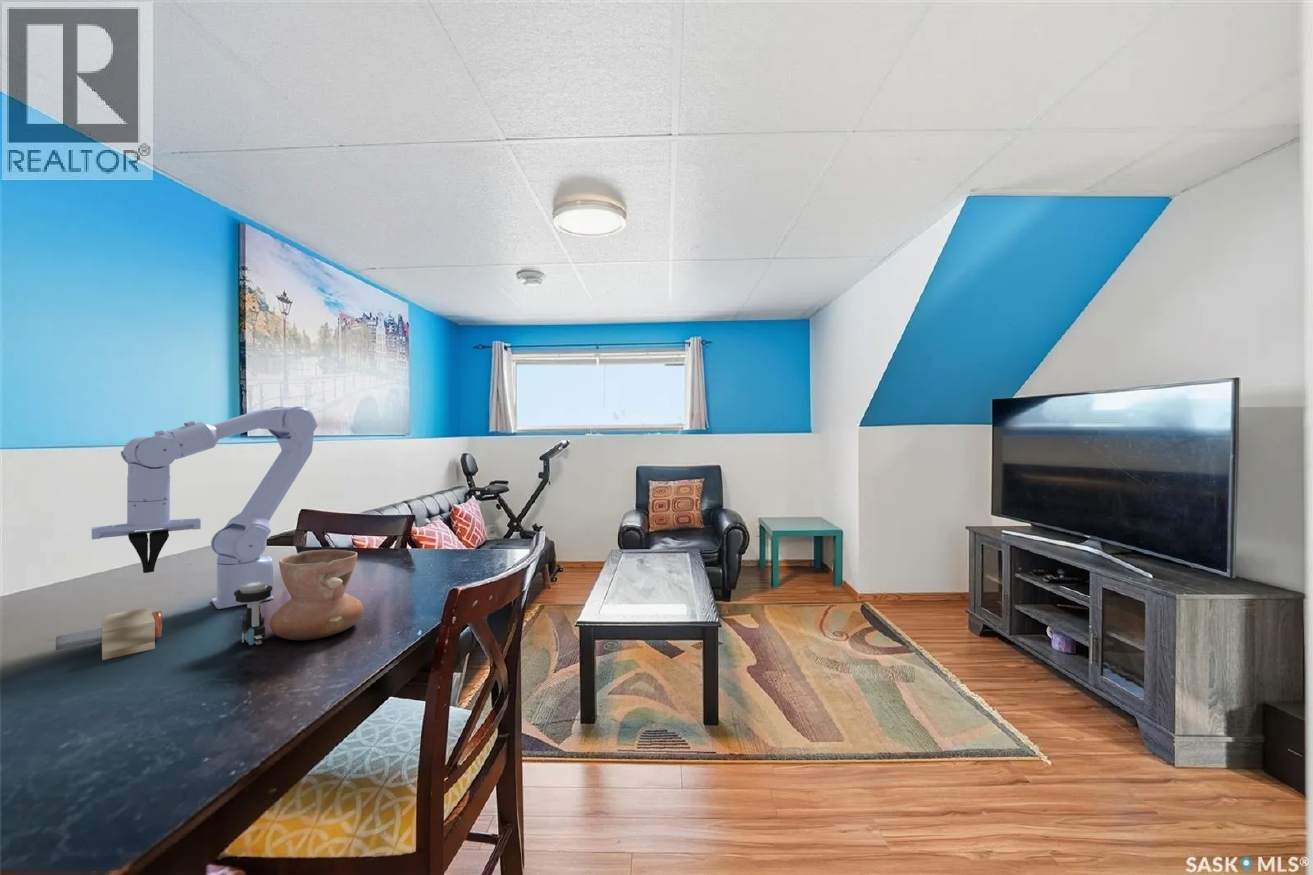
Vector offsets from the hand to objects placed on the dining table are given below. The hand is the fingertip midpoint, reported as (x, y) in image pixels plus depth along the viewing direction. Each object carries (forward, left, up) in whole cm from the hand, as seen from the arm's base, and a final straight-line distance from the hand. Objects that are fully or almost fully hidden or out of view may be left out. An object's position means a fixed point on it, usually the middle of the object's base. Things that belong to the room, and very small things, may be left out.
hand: (148, 571), depth 97 cm
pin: (+5, +11, -9) cm, 15 cm away
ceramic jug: (-21, +26, -10) cm, 35 cm away
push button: (-12, +24, -10) cm, 29 cm away
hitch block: (+3, +11, -10) cm, 15 cm away
